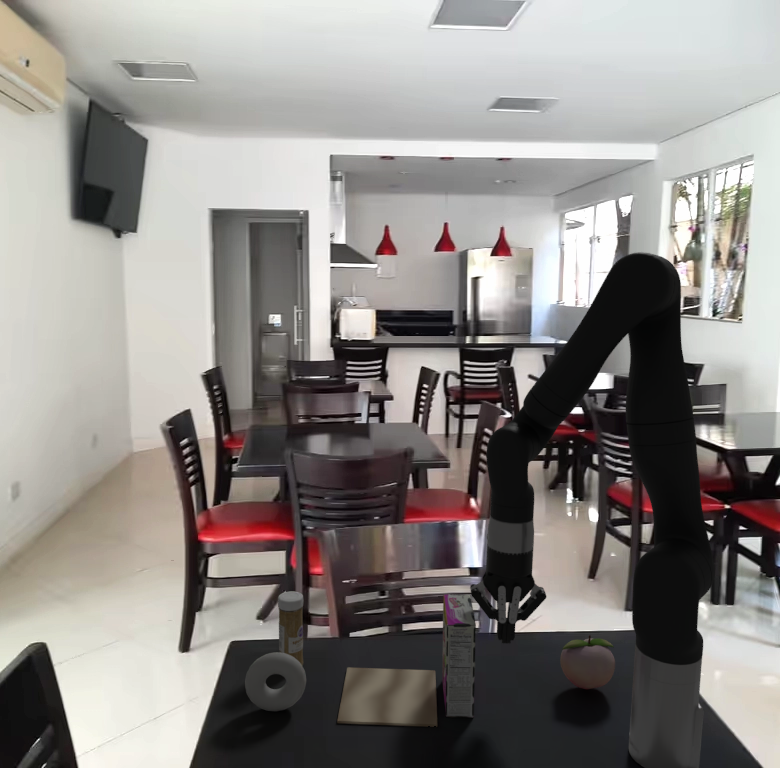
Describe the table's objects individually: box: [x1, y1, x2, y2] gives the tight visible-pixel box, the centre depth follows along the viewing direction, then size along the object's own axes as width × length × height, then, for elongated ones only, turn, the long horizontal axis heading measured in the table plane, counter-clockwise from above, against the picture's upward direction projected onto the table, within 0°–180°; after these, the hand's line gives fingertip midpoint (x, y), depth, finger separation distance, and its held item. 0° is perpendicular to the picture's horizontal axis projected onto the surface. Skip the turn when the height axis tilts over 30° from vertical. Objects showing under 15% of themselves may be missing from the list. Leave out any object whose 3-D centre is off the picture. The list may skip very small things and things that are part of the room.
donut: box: [244, 651, 307, 712], centre depth 118 cm, size 10×4×10 cm, turn 97°
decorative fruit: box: [560, 634, 616, 690], centre depth 125 cm, size 9×8×10 cm
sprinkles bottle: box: [277, 591, 304, 666], centre depth 132 cm, size 5×5×14 cm
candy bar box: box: [441, 593, 477, 718], centre depth 121 cm, size 11×5×16 cm, turn 179°
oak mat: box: [336, 666, 438, 728], centre depth 123 cm, size 16×16×1 cm
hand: (505, 641), depth 121 cm, fingers closed
